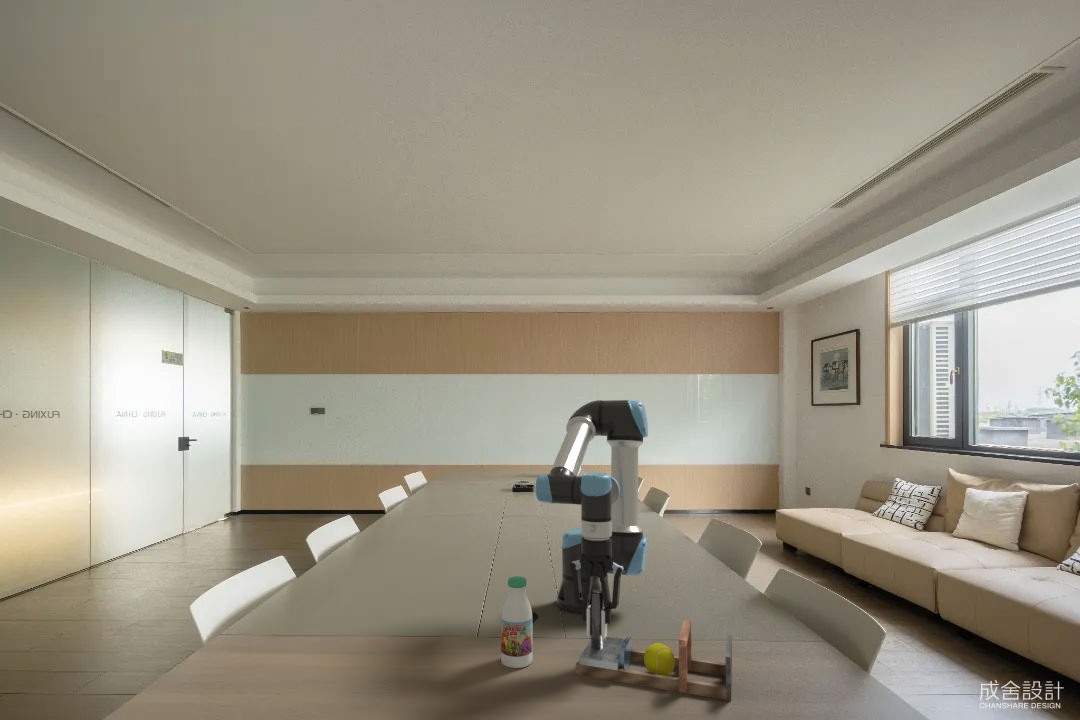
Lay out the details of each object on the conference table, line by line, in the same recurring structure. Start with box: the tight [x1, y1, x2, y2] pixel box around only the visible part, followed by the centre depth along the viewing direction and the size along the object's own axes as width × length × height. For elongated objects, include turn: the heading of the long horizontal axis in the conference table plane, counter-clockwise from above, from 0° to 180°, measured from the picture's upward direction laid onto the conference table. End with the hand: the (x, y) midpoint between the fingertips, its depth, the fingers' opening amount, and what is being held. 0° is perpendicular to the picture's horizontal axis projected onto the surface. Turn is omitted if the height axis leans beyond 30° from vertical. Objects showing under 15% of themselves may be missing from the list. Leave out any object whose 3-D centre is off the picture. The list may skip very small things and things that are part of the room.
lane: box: [575, 619, 733, 701], centre depth 133 cm, size 34×13×11 cm, turn 70°
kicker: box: [578, 590, 632, 670], centre depth 138 cm, size 10×14×17 cm
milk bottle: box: [500, 575, 533, 669], centre depth 140 cm, size 8×8×20 cm
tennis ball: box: [643, 642, 675, 676], centre depth 133 cm, size 7×7×7 cm
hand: (596, 635), depth 138 cm, fingers closed on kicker, 3 cm apart
